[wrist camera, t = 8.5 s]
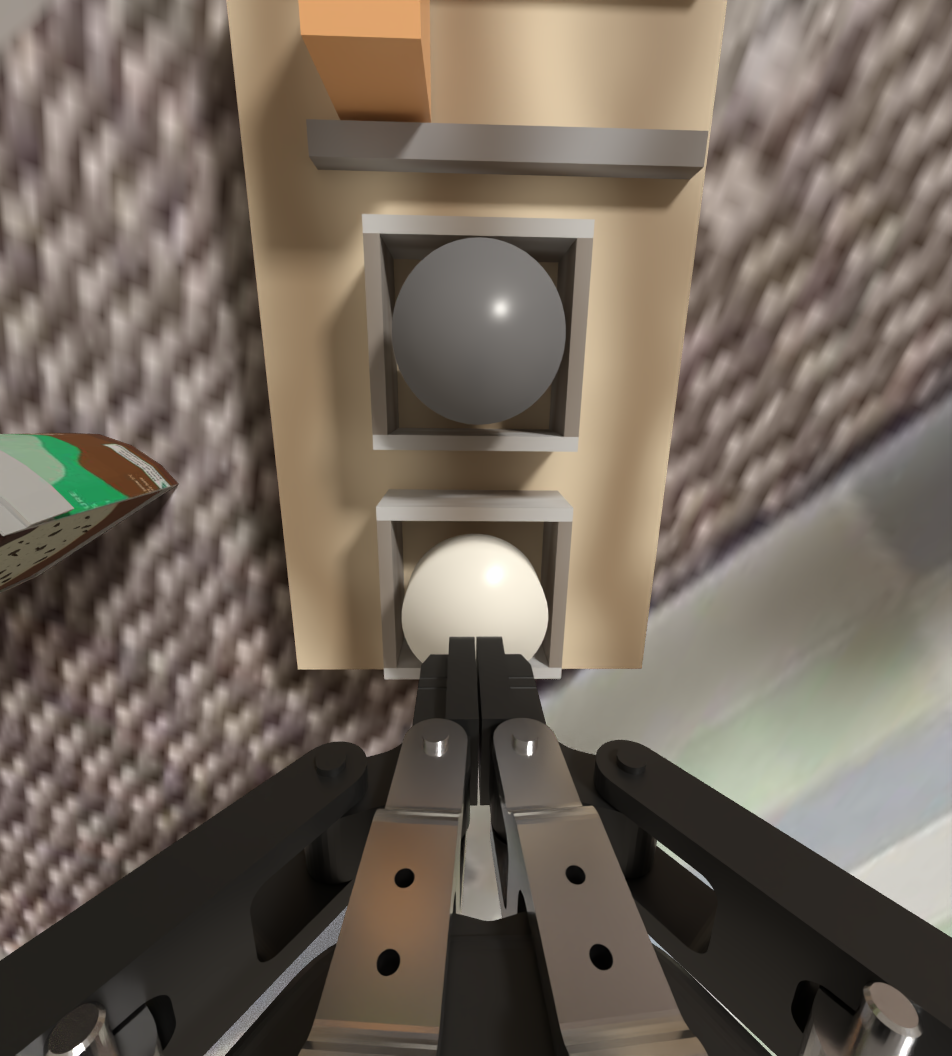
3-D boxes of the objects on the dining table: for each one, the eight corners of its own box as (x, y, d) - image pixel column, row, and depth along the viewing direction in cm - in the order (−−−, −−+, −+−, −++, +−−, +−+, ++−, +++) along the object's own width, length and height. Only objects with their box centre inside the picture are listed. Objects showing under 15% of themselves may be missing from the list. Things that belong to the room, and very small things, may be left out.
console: (685, -30, 18) (815, -272, 12) (615, 627, 26) (667, 709, 19) (263, -46, 18) (142, -308, 11) (322, 627, 26) (273, 712, 19)
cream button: (543, 534, 17) (552, 550, 16) (536, 655, 19) (544, 682, 17) (405, 533, 17) (399, 549, 15) (409, 655, 19) (404, 682, 17)
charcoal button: (559, 256, 15) (571, 239, 13) (549, 421, 16) (559, 425, 14) (397, 253, 15) (388, 235, 13) (402, 420, 16) (394, 423, 14)
